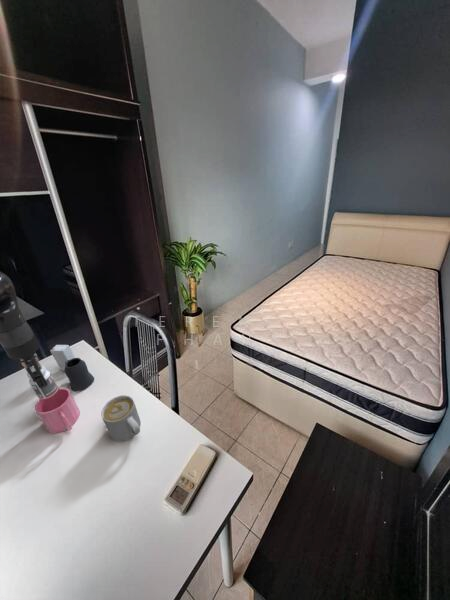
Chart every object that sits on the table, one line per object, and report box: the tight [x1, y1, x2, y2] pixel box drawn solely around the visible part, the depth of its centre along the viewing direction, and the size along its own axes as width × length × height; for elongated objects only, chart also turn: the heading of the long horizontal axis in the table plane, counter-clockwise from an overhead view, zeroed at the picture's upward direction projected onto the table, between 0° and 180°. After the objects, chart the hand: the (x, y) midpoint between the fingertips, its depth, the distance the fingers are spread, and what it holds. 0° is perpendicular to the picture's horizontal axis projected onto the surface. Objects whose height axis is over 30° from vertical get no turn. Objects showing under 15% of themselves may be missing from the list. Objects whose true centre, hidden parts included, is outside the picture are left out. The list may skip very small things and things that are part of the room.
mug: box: [63, 357, 95, 393], centre depth 101 cm, size 12×9×11 cm
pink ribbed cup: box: [34, 387, 81, 434], centre depth 84 cm, size 14×10×10 cm
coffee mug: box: [101, 394, 142, 443], centre depth 80 cm, size 13×10×10 cm
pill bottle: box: [26, 364, 59, 399], centre depth 79 cm, size 6×6×10 cm
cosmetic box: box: [50, 344, 76, 372], centre depth 108 cm, size 6×4×12 cm
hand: (41, 380), depth 79 cm, fingers closed on pill bottle, 5 cm apart
